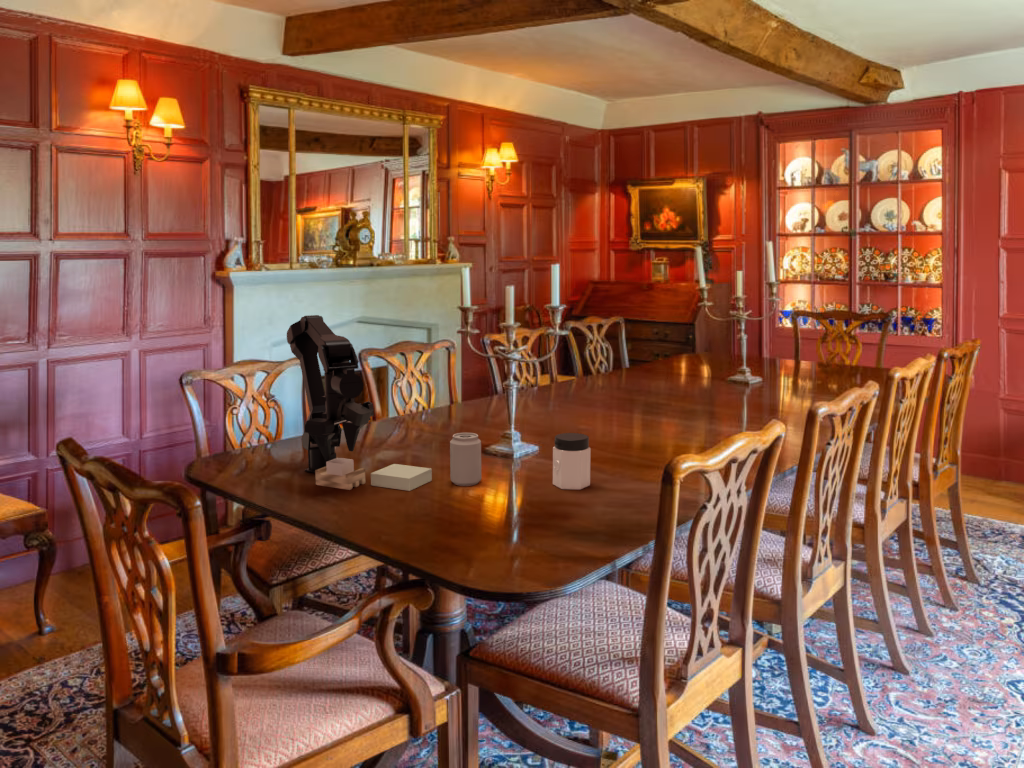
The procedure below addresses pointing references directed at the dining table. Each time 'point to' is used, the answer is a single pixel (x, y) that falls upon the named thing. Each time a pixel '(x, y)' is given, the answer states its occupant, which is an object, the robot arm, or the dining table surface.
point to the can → (465, 459)
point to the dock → (401, 477)
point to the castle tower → (340, 479)
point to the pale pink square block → (340, 466)
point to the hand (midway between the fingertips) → (339, 455)
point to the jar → (571, 461)
